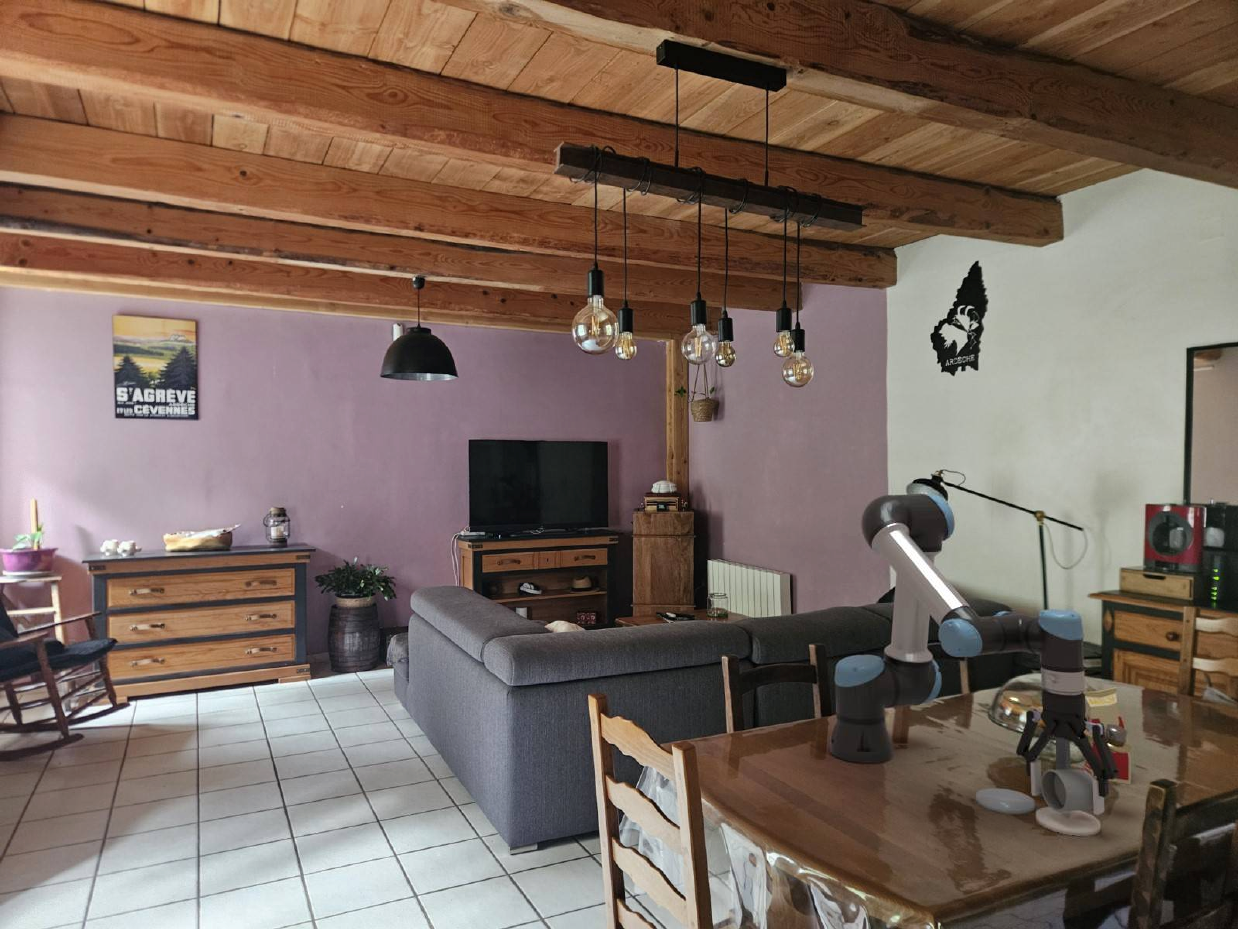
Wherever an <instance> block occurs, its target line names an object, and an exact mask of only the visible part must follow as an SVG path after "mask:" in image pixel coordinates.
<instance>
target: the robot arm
mask: <svg viewBox="0 0 1238 929" xmlns="http://www.w3.org/2000/svg"><path fill="white" fill-rule="evenodd" d="M860 524H861V525H860V527H861V532H862V535H863V538H864V541H865V542H866V543H867V546H869V547H870V549H871V550H872V552H874V554H876V555H877V556H881V557H883V558H884V559H885V560H886V562H887V563H888V565H889V566H890V567H891V568H892V569H893V570H894V572H895V573H896V574H895V588H894V589H895V590H894V599H893V600H894V601H893V602H894V603H893V615H892V616H893V617H892V627H891V639H890V640H891V641H890V644H889V645H887V646H886V647H884V651H883V658H881V657H880V656H878V655H872V654H863V655H862V654H856V655H850V656H847V657H844V658H843V659H842V658H841V660H839V661H837V663H836V665H835V669H834V670H835V671H834V672H835V673H834V679H833V680H834V684H835V685H834V686H835V712H836V713H835V714H836V715H835V716H836V719H835V723H834V724H835V725H834V727H833V730H832V732H831V733H832V735H831V737H830V740H829V752H830V753H832V755H833V757H835V758H838V759H840V760H844V761H847V762H852V763H859V764H860V763H861V764H876V763H882V762H883V763H884V762H888V761H889V760H891V759H892V758H894V746H893V743H892V741H891V737H890V734H889V731H888V727H887V724H886V716H885V715H886V714H885V713H886V711H885V709H892V708H901V707H909V706H913V707H914V706H915V707H916V706H920V705H923V704H927V703H931V702H932V701H933V700H935V699H936V698H937V696H938V694H939V693H940V690H941V687H942V674H941V672H940V671H939V670H940V667H939V665H938V663H937V662H936V660H934V658H933V654H932V652H930V650H929V649H928V641H929V627H930V616H931V618H932V619H933V620H934V621H935V623H936V624H937V625H938V627H939V628H938V634H937V635H938V636H937V637H938V640H939V642H940V645H941V646H940V647H941V648H942V650H943V651H944V652H945V653H946V654H948V655H949V656H951V657H956V658H962V657H963V658H974V657H976V656H984V655H994V654H1004V653H1013V652H1014V653H1015V652H1024V653H1025V652H1026V653H1029V654H1033V655H1038V656H1040V657H1039V658H1040V659H1039V660H1040V672H1041V673H1040V676H1041V678H1040V679H1041V680H1040V683H1041V688H1043V689H1042V690H1041V707H1042V710H1043V711H1042V712H1039V711H1037V710H1036V709H1032V710H1029V711H1026V712H1025V718H1026V719H1025V720H1026V722H1025V725H1024V727H1023V730H1022V733H1021V736H1020V739H1019V742H1018V744H1017V747H1016V750H1015V753H1016V755H1017V756H1018V757H1022V758H1023V759H1025V763H1026V765H1025V766H1026V774H1027V777H1030V789H1031V790H1030V792H1031V793H1032V795H1031V796H1033V797H1038V796H1037V795H1039V794H1041V793H1042V791H1041V779H1042V761H1041V760H1040V759H1038V758H1039V755H1040V753H1042V751H1043V750H1044V749H1045V747H1046V746H1047V745H1048V743H1049V742H1050V741H1051V740H1052V739H1053V737H1054V738H1055V737H1057V738H1064V739H1066V740H1069V741H1070V742H1071V741H1072V742H1073V744H1074V745H1075V747H1077V748H1078V750H1079V751H1080V753H1081V754H1082V756H1083V758H1084V760H1085V759H1086V761H1087V762H1088V764H1089V766H1090V767H1091V769H1092V770H1093V772H1094V774H1095V775H1096V777H1095V778H1094V779H1093V806H1094V808H1093V814H1094V815H1096V816H1099V815H1101V814H1102V813H1104V812H1105V798H1106V797H1108V795H1109V794H1110V793H1109V790H1110V789H1109V781H1108V780H1109V779H1110V780H1112V779H1114V778H1116V777H1118V776H1119V771H1118V769H1117V766H1116V763H1115V761H1114V758H1113V756H1112V753H1111V751H1110V748H1109V745H1108V743H1107V740H1106V738H1105V728H1104V724H1102V723H1098V724H1095V723H1091V722H1088V721H1087V719H1086V714H1087V703H1086V698H1085V694H1084V693H1083V692H1085V691H1086V681H1085V679H1086V678H1085V666H1084V665H1085V664H1084V662H1085V661H1084V660H1085V659H1084V637H1085V633H1084V629H1083V620H1082V616H1081V615H1080V614H1079V613H1078V612H1076V611H1073V610H1067V609H1066V610H1064V609H1054V608H1052V609H1044V610H1041V611H1040V612H1039V614H1038V616H1033V615H1029V614H1024V613H1019V612H1018V611H1005V610H1003V611H999V612H997V613H996V614H995V615H991V616H979V615H978V614H977V612H976V611H975V610H974V609H973V608H972V607H971V606H970V604H969V603H968V602H967V601H966V600H965V599H964V598H963V597H962V595H961V594H960V593H959V592H958V591H957V590H956V589H955V587H954V586H953V585H952V583H950V582H949V580H948V579H947V578H946V577H945V575H944V574H943V573H942V572H941V571H940V570H939V569H938V568H937V566H936V565H935V558H936V556H937V555H939V554H940V553H941V552H942V550H943V542H945V541H946V540H948V539H949V538H951V536H952V535H953V533H954V532H955V526H956V525H955V524H956V523H955V515H954V513H953V510H952V507H950V505H949V503H948V502H947V500H945V499H944V498H943V497H942V496H939V495H937V494H929V493H911V494H909V493H907V494H886V495H881V496H879V497H876V498H874V499H873V500H872V501H870V503H868V505H867V506H866V507H865V509H864V511H863V513H862V515H861V523H860ZM1041 721H1042V723H1043V724H1044V725H1045V728H1044V729H1043V730H1042V732H1041V733H1040V734H1041V735H1040V736H1039V737H1038V738H1037V739H1036V741H1035V742H1034V744H1033V745H1032V747H1031V744H1032V740H1033V738H1034V735H1035V733H1036V730H1037V727H1038V724H1039V722H1041ZM1086 729H1088V730H1089V732H1090V734H1091V735H1092V737H1093V741H1094V743H1095V746H1096V749H1097V751H1098V754H1099V757H1100V759H1101V760H1100V759H1099V757H1098V756H1097V754H1096V752H1095V751H1094V749H1093V748H1092V746H1091V745H1090V743H1089V739H1088V737H1087V736H1086V734H1085V733H1084V731H1085V730H1086ZM1029 749H1030V750H1029ZM1031 793H1030V794H1031Z"/></svg>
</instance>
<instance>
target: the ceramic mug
mask: <svg viewBox="0 0 1238 929" xmlns="http://www.w3.org/2000/svg"><path fill="white" fill-rule="evenodd" d="M1094 778H1095V777H1094V776H1093V775H1092V774H1090V773H1089V772H1086V771H1084V770H1082V769H1071V770H1059V769H1052V768H1051V769H1047V770H1046V771H1044V772H1043V774H1042V775H1041V791H1042V795H1043V797H1044V798H1043V799H1044V801H1045V803H1046V804H1047V805H1048V807H1050V808H1051V809H1053V810H1054V811H1057V812H1065V811H1077V810H1080V811H1086V810H1087V811H1089V810H1092V809H1093V810H1094V806H1093V779H1094Z"/></svg>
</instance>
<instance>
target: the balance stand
mask: <svg viewBox="0 0 1238 929" xmlns="http://www.w3.org/2000/svg"><path fill="white" fill-rule="evenodd" d="M1054 738H1055V740H1054V741H1055V764H1056V765H1055V766H1056V769H1059V770H1072V768H1071V767H1072V766H1071V763H1072V762H1071V741H1069V740H1066V739H1064V738H1057V737H1054ZM1031 794H1032V793H1030V795H1031ZM1036 797H1038V798H1041V797H1043V795H1042V793H1041V794H1039V795H1037V796H1036ZM1042 799H1044V797H1043V798H1042Z"/></svg>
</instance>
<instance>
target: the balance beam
mask: <svg viewBox="0 0 1238 929" xmlns="http://www.w3.org/2000/svg"><path fill="white" fill-rule="evenodd" d="M1002 698H1003V699H1004V700H1006V701H1007V702H1009V704H1012V705H1013V706H1016V707H1018V708H1019V709H1022V710H1025V711H1026V712H1027V711H1029V710H1032V709H1036V710H1037V711H1039V712H1042V711H1043V708H1040V707H1037V706H1036V705H1034V704H1033V700H1032V698H1031V697H1029V696H1028V695H1026V694H1024V693H1022V692H1018V691H1014V690H1004V691H1003V692H1002ZM1084 733H1085V734H1086V736H1087V737H1088V739H1089V741H1090V742H1093V743H1094V741H1093V737H1092V735H1091V734H1090V732H1088V731H1086V730H1085V731H1084ZM1126 736H1127V737H1128V731H1127V729H1126V730H1125V729H1124V728H1122V727H1120V726H1117V725H1113V724H1108V725H1107V727H1106V730H1105V738H1106V740H1107V743H1108V745H1109V748H1110V751H1111V752H1113V753H1116V752H1119V753H1129V752H1130V751H1131V745H1128V744H1129V743H1128V744H1127V743H1126V742H1125V739H1126ZM1130 753H1131V752H1130Z"/></svg>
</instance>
